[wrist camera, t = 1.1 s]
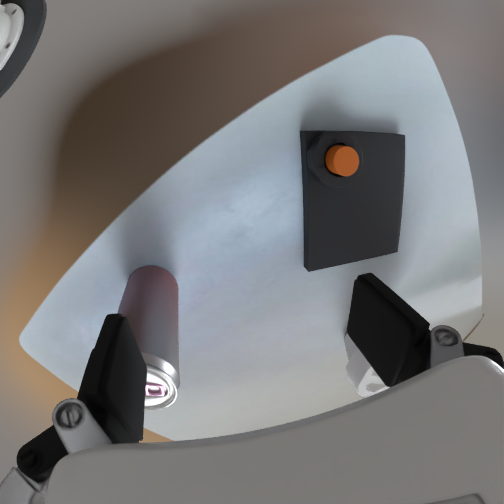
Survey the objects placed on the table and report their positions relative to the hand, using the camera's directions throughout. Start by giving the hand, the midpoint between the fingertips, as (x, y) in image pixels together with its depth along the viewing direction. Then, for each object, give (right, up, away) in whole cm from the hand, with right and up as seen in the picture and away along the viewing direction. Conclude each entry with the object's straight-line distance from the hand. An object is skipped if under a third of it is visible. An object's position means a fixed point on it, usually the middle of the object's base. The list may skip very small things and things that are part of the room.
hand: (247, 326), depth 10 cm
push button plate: (+13, +9, +20) cm, 26 cm away
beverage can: (-11, -1, +19) cm, 22 cm away
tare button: (+9, +12, +15) cm, 22 cm away
